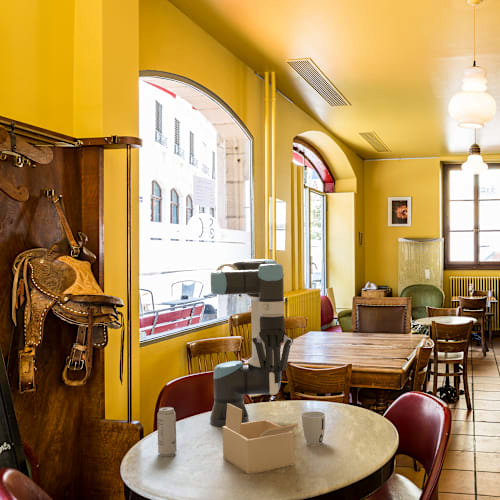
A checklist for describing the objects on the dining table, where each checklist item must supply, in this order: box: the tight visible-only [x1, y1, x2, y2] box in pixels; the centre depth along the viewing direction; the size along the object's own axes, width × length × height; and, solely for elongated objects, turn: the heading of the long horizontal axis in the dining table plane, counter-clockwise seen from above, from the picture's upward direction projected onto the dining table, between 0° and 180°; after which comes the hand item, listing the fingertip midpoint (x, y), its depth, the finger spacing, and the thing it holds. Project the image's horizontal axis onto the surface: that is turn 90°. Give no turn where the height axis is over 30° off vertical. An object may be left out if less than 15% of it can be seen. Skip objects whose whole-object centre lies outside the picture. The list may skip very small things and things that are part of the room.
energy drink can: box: [156, 406, 177, 458], centre depth 198 cm, size 6×6×15 cm
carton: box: [221, 419, 295, 475], centre depth 190 cm, size 19×17×10 cm
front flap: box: [259, 423, 299, 437], centre depth 179 cm, size 7×10×1 cm
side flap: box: [225, 403, 242, 433], centre depth 188 cm, size 7×10×1 cm
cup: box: [301, 410, 326, 446], centre depth 206 cm, size 8×8×10 cm
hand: (274, 393), depth 180 cm, fingers closed
